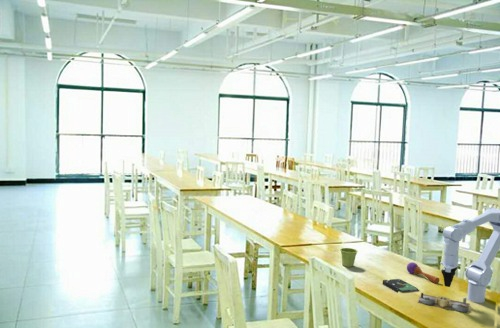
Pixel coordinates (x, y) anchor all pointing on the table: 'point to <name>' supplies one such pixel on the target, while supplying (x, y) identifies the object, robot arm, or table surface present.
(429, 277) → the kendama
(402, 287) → the disk drive
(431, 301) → the gear board
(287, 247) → the table surface
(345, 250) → the plant pot
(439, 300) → the brass gear
